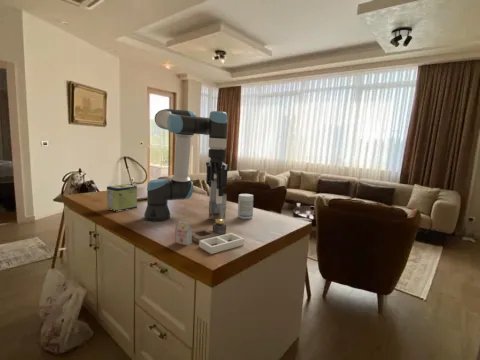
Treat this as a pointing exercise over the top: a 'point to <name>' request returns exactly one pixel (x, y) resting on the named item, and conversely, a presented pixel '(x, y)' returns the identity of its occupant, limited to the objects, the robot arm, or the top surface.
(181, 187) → the robot arm
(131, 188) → the protein box
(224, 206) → the coffee box
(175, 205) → the top surface
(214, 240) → the tray
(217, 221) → the release key
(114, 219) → the top surface
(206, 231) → the socket
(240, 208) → the supplement tub
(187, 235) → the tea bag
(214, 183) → the grey bottle
